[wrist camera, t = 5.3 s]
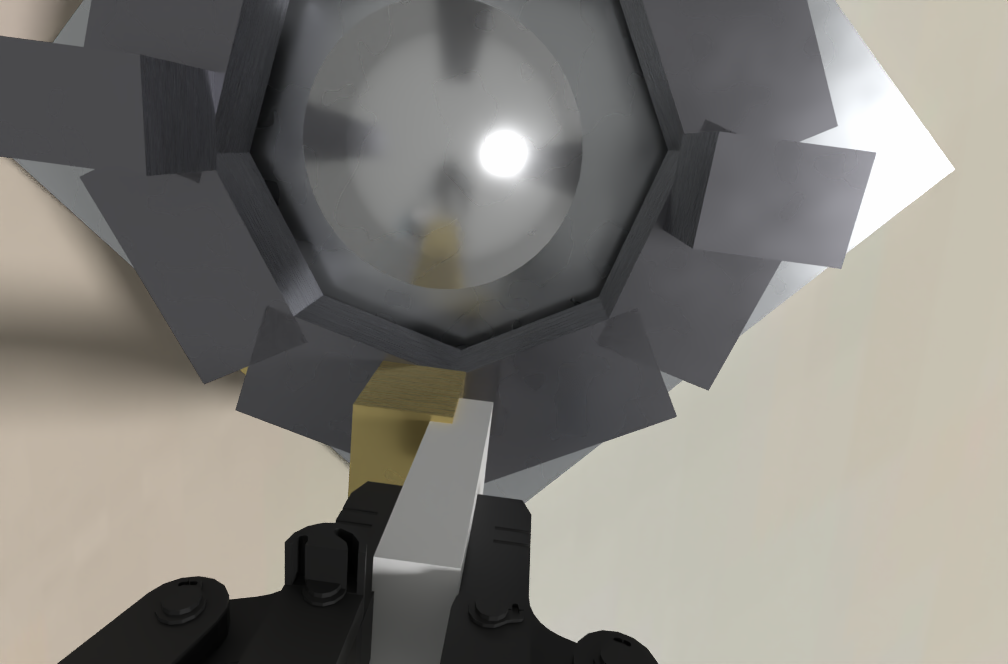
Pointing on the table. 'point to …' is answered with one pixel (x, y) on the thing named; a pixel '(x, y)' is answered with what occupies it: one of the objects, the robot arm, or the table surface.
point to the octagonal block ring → (393, 348)
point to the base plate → (497, 159)
